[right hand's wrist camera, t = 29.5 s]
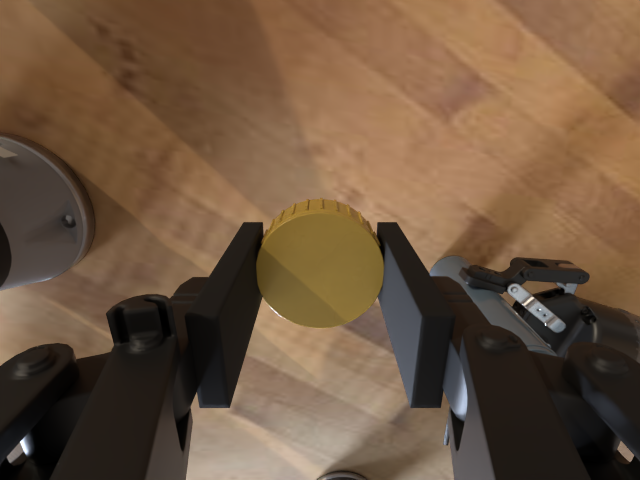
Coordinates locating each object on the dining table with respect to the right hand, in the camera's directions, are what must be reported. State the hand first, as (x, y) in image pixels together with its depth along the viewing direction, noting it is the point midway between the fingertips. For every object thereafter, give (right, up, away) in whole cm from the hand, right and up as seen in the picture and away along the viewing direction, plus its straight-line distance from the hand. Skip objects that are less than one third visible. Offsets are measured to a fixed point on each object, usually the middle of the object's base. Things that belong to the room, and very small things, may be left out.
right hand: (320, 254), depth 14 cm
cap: (0, -1, -1) cm, 2 cm away
